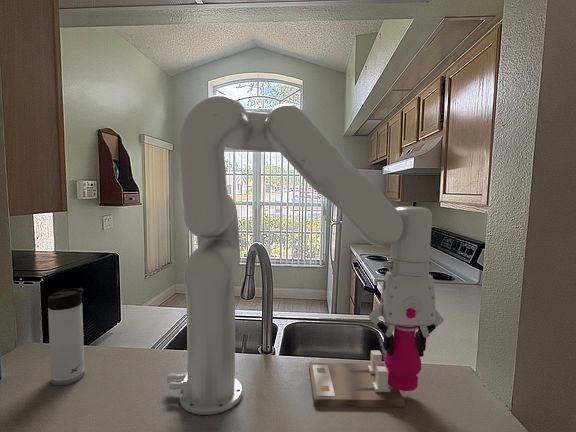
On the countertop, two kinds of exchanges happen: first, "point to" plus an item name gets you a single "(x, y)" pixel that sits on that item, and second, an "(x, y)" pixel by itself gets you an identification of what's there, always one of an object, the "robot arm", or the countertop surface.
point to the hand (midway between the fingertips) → (403, 352)
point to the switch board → (349, 386)
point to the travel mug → (66, 336)
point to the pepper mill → (404, 357)
